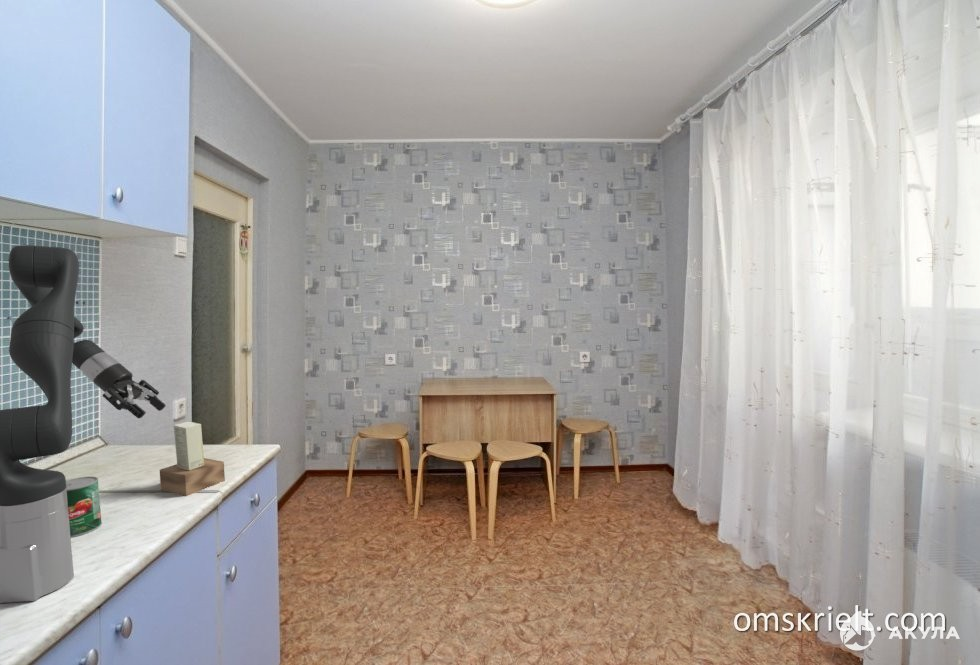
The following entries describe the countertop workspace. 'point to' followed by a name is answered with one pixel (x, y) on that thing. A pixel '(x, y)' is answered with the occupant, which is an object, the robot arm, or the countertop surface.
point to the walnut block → (192, 477)
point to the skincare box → (189, 445)
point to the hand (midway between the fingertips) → (153, 412)
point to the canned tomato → (83, 505)
